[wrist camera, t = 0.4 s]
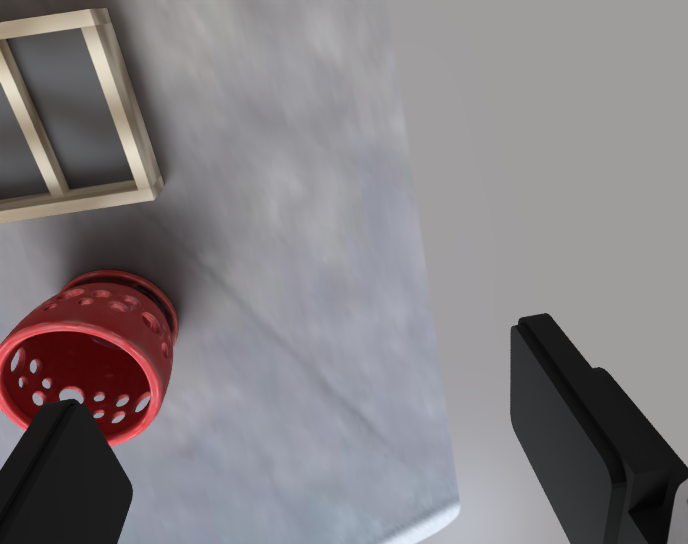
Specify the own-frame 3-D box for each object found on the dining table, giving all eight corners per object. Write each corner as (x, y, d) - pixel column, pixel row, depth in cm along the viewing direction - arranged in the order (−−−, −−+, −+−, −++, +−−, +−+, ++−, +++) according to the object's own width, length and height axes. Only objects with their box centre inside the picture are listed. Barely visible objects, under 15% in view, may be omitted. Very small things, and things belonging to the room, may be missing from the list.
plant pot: (208, 346, 52) (185, 433, 42) (89, 372, 53) (38, 464, 42) (160, 239, 46) (119, 309, 36) (26, 269, 46) (-53, 348, 36)
